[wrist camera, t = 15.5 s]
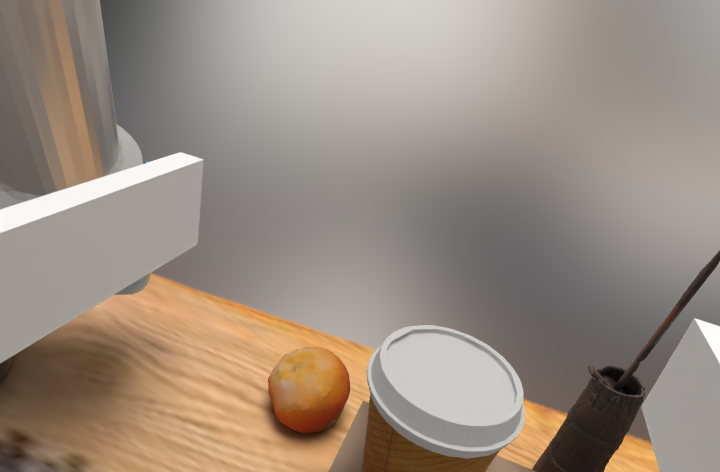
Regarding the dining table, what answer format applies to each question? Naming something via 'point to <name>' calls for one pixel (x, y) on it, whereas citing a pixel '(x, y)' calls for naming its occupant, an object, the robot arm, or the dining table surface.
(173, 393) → the dining table surface
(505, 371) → the disposable coffee cup
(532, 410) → the dining table surface
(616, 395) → the butter churn
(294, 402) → the fruit
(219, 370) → the dining table surface
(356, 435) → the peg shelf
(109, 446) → the dining table surface
